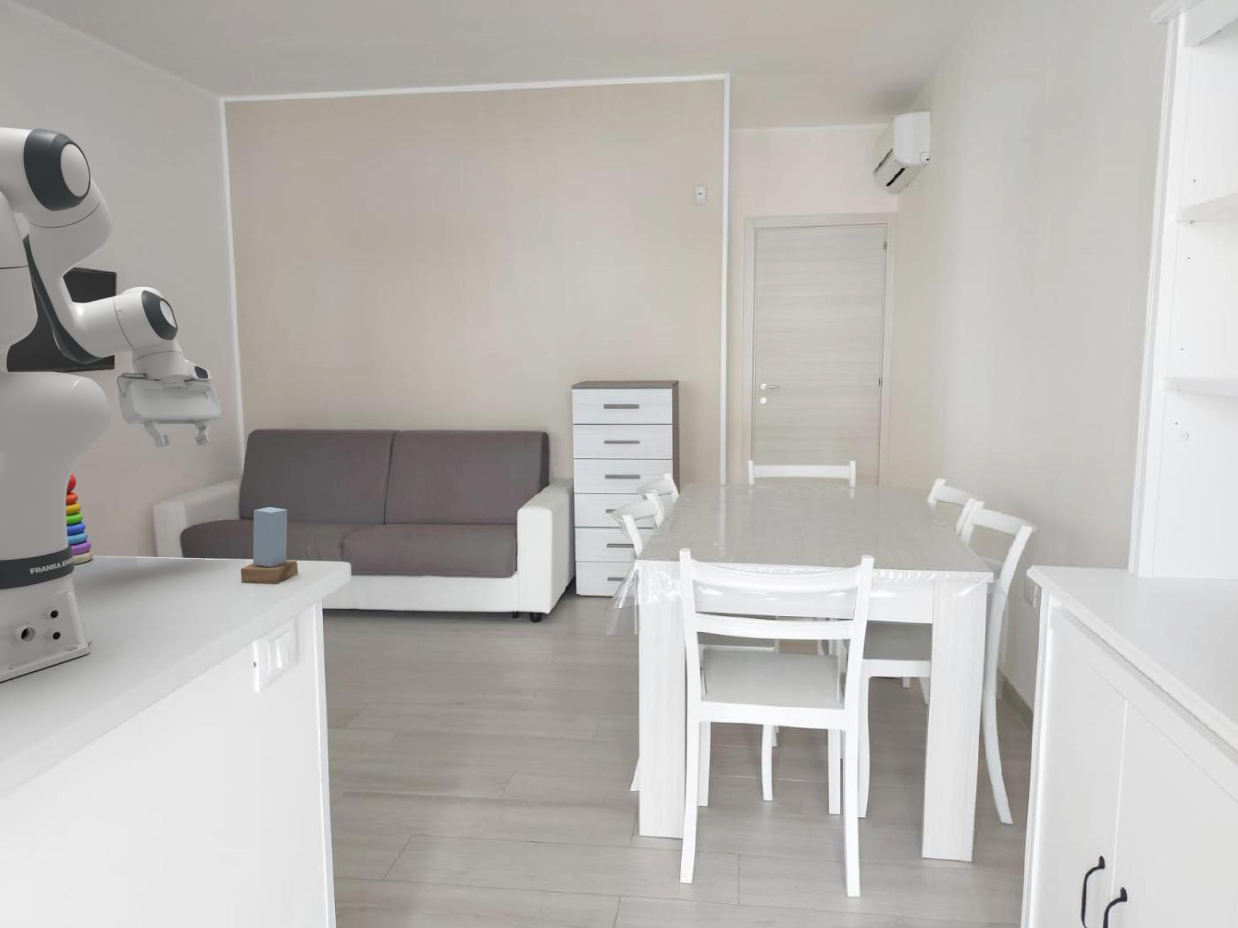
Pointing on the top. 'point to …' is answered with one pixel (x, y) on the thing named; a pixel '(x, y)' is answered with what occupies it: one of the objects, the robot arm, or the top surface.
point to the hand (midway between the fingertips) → (184, 445)
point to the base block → (269, 573)
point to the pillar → (270, 536)
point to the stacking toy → (76, 526)
